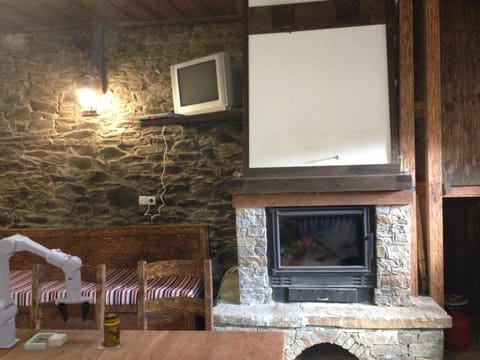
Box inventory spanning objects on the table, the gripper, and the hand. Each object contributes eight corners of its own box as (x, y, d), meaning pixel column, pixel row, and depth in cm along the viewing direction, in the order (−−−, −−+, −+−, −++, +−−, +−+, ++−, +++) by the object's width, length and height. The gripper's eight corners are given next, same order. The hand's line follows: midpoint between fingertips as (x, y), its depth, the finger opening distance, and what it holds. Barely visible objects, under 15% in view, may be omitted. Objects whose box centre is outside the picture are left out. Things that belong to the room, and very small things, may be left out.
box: (24, 349, 160) (24, 344, 160) (38, 337, 171) (38, 333, 171) (45, 349, 160) (45, 344, 160) (57, 337, 171) (57, 332, 171)
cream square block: (48, 346, 163) (48, 339, 163) (54, 341, 168) (54, 334, 168) (61, 346, 163) (61, 338, 163) (66, 341, 168) (66, 333, 168)
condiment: (119, 347, 160) (118, 317, 159) (97, 349, 159) (96, 318, 158) (122, 340, 167) (121, 310, 167) (100, 341, 166) (99, 312, 165)
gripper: (95, 283, 169) (96, 316, 169) (60, 285, 169) (61, 318, 169) (88, 289, 162) (90, 323, 162) (52, 290, 162) (54, 324, 162)
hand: (75, 320), depth 165 cm, fingers open, 7 cm apart
